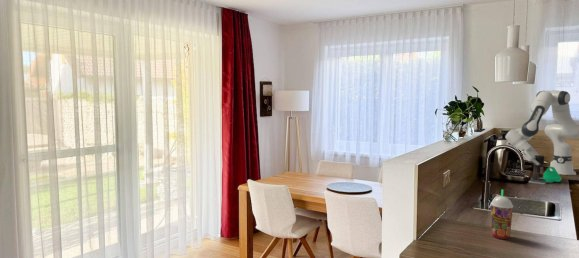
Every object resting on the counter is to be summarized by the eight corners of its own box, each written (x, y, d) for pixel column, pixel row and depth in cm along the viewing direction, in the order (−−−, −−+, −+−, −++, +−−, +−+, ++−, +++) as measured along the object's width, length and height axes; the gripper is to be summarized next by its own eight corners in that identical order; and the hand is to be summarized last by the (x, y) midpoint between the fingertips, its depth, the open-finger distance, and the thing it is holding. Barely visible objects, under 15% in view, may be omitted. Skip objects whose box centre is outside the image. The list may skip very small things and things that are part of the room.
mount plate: (532, 180, 277) (532, 177, 277) (547, 182, 270) (547, 179, 270) (528, 182, 270) (528, 179, 270) (544, 184, 264) (544, 181, 264)
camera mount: (538, 181, 276) (539, 166, 276) (541, 179, 282) (542, 165, 281) (558, 183, 268) (559, 168, 267) (561, 181, 273) (561, 167, 273)
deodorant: (539, 178, 266) (540, 156, 265) (531, 176, 272) (532, 155, 271) (545, 177, 269) (546, 156, 268) (536, 176, 274) (537, 155, 273)
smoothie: (490, 238, 159) (492, 191, 157) (488, 232, 167) (489, 186, 165) (513, 241, 156) (515, 192, 154) (510, 234, 164) (512, 188, 162)
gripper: (524, 147, 266) (540, 162, 260) (531, 145, 281) (547, 159, 275) (516, 153, 269) (532, 168, 263) (524, 150, 284) (539, 165, 278)
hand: (540, 164), depth 269 cm, fingers closed on deodorant, 6 cm apart
